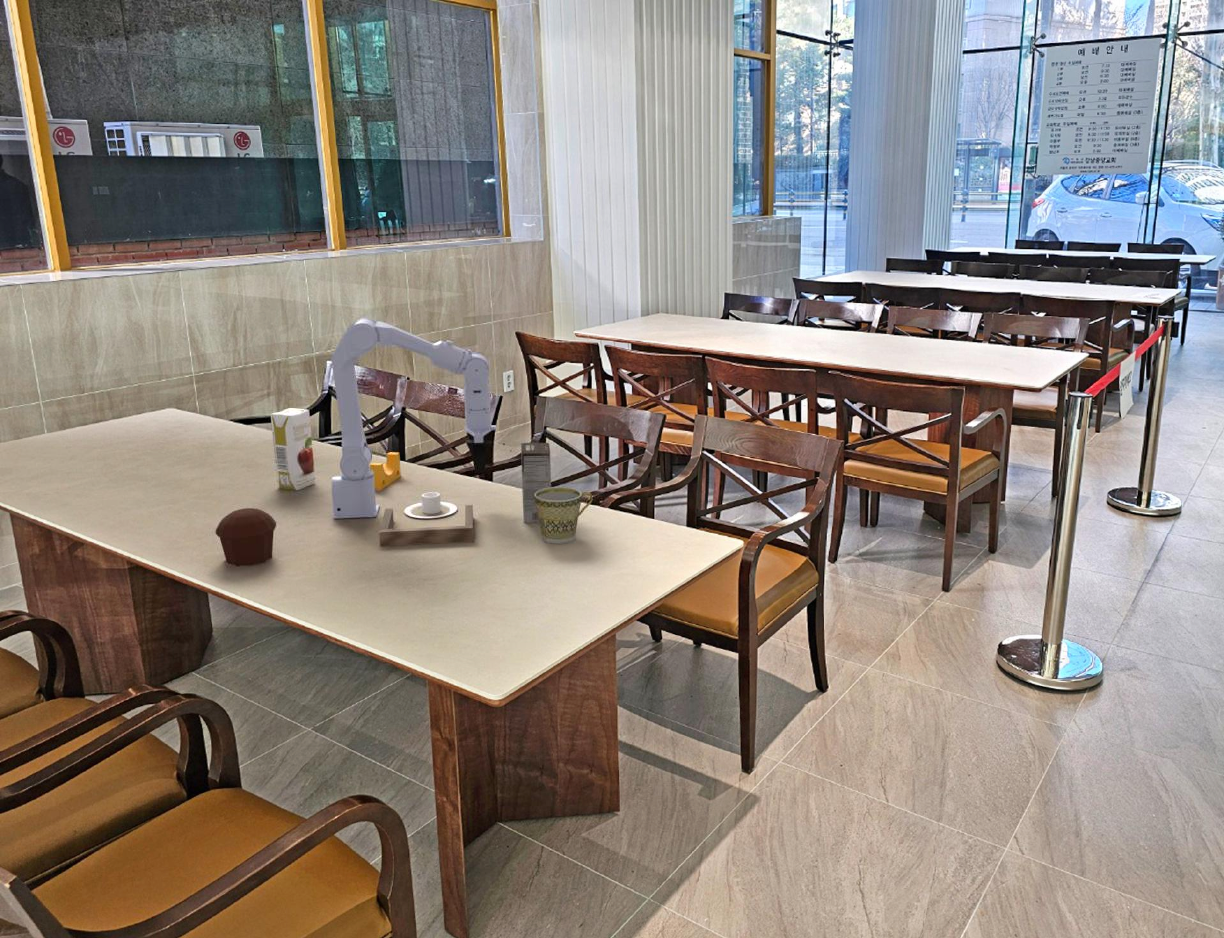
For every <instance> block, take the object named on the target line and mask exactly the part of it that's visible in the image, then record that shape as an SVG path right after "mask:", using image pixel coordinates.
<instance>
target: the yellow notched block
mask: <svg viewBox="0 0 1224 938" xmlns="http://www.w3.org/2000/svg"><path fill="white" fill-rule="evenodd" d="M369 467H370V469H371V470H372V471H373V472H374V485H375V490H376V489H379V490H380V491H381V490H383V489H385V488H386V487H388V486H390V485H391V484H392V483H393V482H394V481H396V480H398V479H399V478H400V477H401V476H402V474H401V473H402V472H401V457H400V452H393V451H392V452H391V451H390V452H388V453H386V462H385V463H383V462H372V463H370V464H369ZM379 490H378V491H379Z"/></svg>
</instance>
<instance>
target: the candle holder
mask: <svg viewBox="0 0 1224 938" xmlns="http://www.w3.org/2000/svg"><path fill="white" fill-rule="evenodd" d="M442 507H445V508H447V509H449V511H448V512H447V513H444V514H440V515H434V514H439V513H440V512H441V510H442ZM419 508H422V513H424V514H425V515H427V514H428V515H431V516H422V515H416V514H413V513H412V512H413V511H414V510H415V509H419ZM457 510H458V506H457V505H455V504H453V503H451V502H448V501H447V502H446V501H445V502H444V501H441V494H440V493H439V492H435V491H432V492H431V491H430V492H425V493H422V494H421V502H417V503H415V504H412V505H409V506H407V507H405V509H404V514H405V515H406V516H408V517H410V518H416V519H435V518H437V519H439V518H443V517H447V516H451V515H452V514H454V513H456V512H457ZM432 515H433V516H432Z"/></svg>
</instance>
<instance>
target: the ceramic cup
mask: <svg viewBox="0 0 1224 938" xmlns="http://www.w3.org/2000/svg"><path fill="white" fill-rule="evenodd" d="M586 496H589V497H590V499H589V502H587V504H585V505H584V506H583V507H582V508H581V505H582V499H584V498H585V497H586ZM534 498H535V504H536V509H537V513H538V518H539V522H538V524H539V528H540V532H541V537H542V540H543V541H544V542H545V543H548V544H555V545H562V544H568V543H572V541H573V540H574V539H575V538H576V533H577V526H578V521H579V517H580V516H581V515H582V514H583V512H584V511H585V510H586V509H587V508H588V507H589V506H590V505H591V504H592V502H593V500H594V499H593V495H592V493H590V492H589V491H584V492H581V490H579V489H576V488H573V487H568V486H567V487H566V486H551V487H550V488H544V489H541V490H538V491H537V492H535V494H534ZM567 542H568V543H567Z"/></svg>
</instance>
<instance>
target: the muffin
mask: <svg viewBox="0 0 1224 938" xmlns="http://www.w3.org/2000/svg"><path fill="white" fill-rule="evenodd" d="M276 527H277V522H276V520H275V519H274V518H273V516H271V515H270V514H269V513H267V512H265V511H264V510H262V509H259V508H256V507H250V508H249V507H246V508H245V507H244V508H239V509H237V510H233V511H232V512H230V513H228V514H227V515H225V516H224V517H223V518H221V520H220V521H219V523H218V525H217V527H216V528H215V535H216V536H217V537H218V538H219V539H220V543H221V547H222V551H223V555H224V558H225V561H226V564H227V563H228V564H227V565H230V564H231V566H234V565H235V566H234V567H251V566H255V565H259V564H263V563H264V564H265V562H267V561H269V560H270V558H271V559H272V558H273V546H274V531H275V530H276Z"/></svg>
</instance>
